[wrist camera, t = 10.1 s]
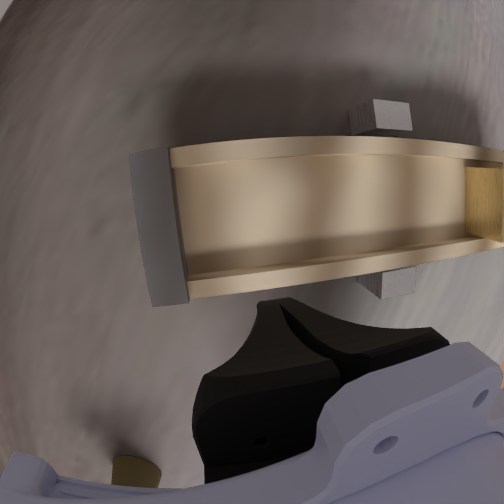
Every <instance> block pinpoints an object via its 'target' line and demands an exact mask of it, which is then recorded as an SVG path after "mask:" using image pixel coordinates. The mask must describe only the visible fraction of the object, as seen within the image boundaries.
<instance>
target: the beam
mask: <svg viewBox="0 0 504 504" xmlns="http://www.w3.org/2000/svg"><path fill="white" fill-rule="evenodd" d="M129 162H130V173H131V182H132V191H133V199H134V207H135V214H136V221H137V228H138V234H139V240H140V246H141V252H142V258H143V263H144V268H145V274H146V279H147V284H148V288H149V293H150V298H151V302H152V307H158V306H167V305H177V304H186V303H189V300H190V299H193V298H202V297H211V296H219V295H227V294H235V293H243V292H250V291H258V290H265V289H272V288H279V287H286V286H293V285H300V284H307V283H313V282H320V281H326V280H332V279H339V278H345V277H351V276H357V275H363V274H369V273H374V272H380V271H386V270H391V269H397V268H402V267H407V266H413V265H418V264H423V263H428V262H433V261H439V260H443V259H448V258H453V257H458V256H463V255H468V254H472V253H477V252H481V251H486V250H490V249H495V248H499V247H504V242H503V243H500V242H497V241H493V240H490V239H487V238H483V237H480V236H477V235H473V234H470V233H466V232H465V172H464V167H475V168H498V169H504V151H502V150H496V149H491V148H485V147H479V146H472V145H465V144H458V143H449V142H441V141H431V140H420V139H408V138H397V136H381V137H371V136H298V137H275V138H259V139H246V140H234V141H224V142H215V143H206V144H198V145H190V146H183V147H176V148H168V147H165V148H159V149H153V150H147V151H141V152H136V153H131V154H129Z"/></svg>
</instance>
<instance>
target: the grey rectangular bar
mask: <svg viewBox="0 0 504 504" xmlns="http://www.w3.org/2000/svg"><path fill="white" fill-rule="evenodd" d="M348 113H349V121H350V130H351V136H389V135H394V134H399V133H404V132H409V131H413V130H412V122H411V115H410V108H409V103H403V102H396V101H387V100H378V99H372V100H370V101H367V102H365V103H363V104H361V105H359V106H357V107H355V108H352V109H350V110H348ZM415 277H416V266H414V265H413V266H407V267H402V268H397V269H391V270H386V271H380V272H374V273H369V274H363V275H358V283H360V284H361V285H362V286H364V287H365V288H366V289H368V290H369V291H370V292H372V293H373V294H374V295H376V296H377V297H378V298H379V299H381V300H383V299H387V298H392V297H396V296H401V295H405V294H410V293H414V289H415Z"/></svg>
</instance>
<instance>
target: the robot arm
mask: <svg viewBox="0 0 504 504" xmlns="http://www.w3.org/2000/svg"><path fill="white" fill-rule="evenodd" d="M502 379H503V372H502V370H501V368H500V366H499V365H498V364H497V363H496V362H494V361H493V360H492V359H491V358H489V357H488V356H487V355H485V354H484V353H483V352H481V351H480V350H479V349H478V348H476V347H475V346H474V345H472V344H471V343H470V342H459V343H454V344H451V345H450V344H449V342H448V340H447V339H445V338H444V337H443V336H442V335H440V334H439V333H438V332H437V331H435V330H434V329H433V328H432V327H426V328H411V329H394V328H379V327H372V326H365V325H360V324H355V323H351V322H348V321H344V320H341V319H338V318H335V317H332V316H329V315H327V314H324V313H322V312H320V311H318V310H315V309H313V308H311V307H309V306H307V305H305V304H303V303H301V302H299V301H297V300H295V299H293V298H290V297H289V298H282V299H275V300H268V301H261V302H259V303H258V304H257V317H256V320H255V323H254V326H253V328H252V330H251V333H250V335H249V336H248V338H247V340H246V341H245V343H244V344H243V346H242V347H241V348H240V349H239V351H238V352H237V353H236V354H235V355H234V356H233V357H232V358H231V359H229V360H228V361H227V362H225V363H224V364H223V365H221V366H219V367H218V368H216V369H214V370H212V371H211V372H209V373H207V374H205V375H204V376H203V378H202V380H201V383H200V385H199V388H198V391H197V395H196V398H195V402H194V407H193V415H192V431H193V437H194V440H195V443H196V445H197V448H198V451H199V453H200V456H201V459H202V461H203V464H204V476H205V484H204V485H199V486H195V487H190V488H185V489H167V488H143V487H129V486H119V485H110V484H103V483H96V482H90V481H84V480H78V479H73V478H68V477H64V476H59V475H58V474H57V473H56V471H55V470H54V469H53V467H52V466H51V465H50V464H49V463H48V462H46V461H45V460H43V459H42V458H39V457H36V456H32V455H28V454H25V453H21V452H18V451H14V452H13V454H12V456H11V458H10V460H9V461H8V463H7V465H6V467H5V469H4V471H3V473H2V476H1V478H0V504H504V388H502V389H500V387H501V383H502Z"/></svg>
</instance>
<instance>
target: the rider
mask: <svg viewBox="0 0 504 504" xmlns="http://www.w3.org/2000/svg"><path fill="white" fill-rule="evenodd" d="M464 172H465V232H466V233H470V234H473V235H477V236H480V237H483V238H487V239H490V240H493V241H497V242H500V243H503V242H504V169H498V168H475V167H464Z"/></svg>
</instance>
